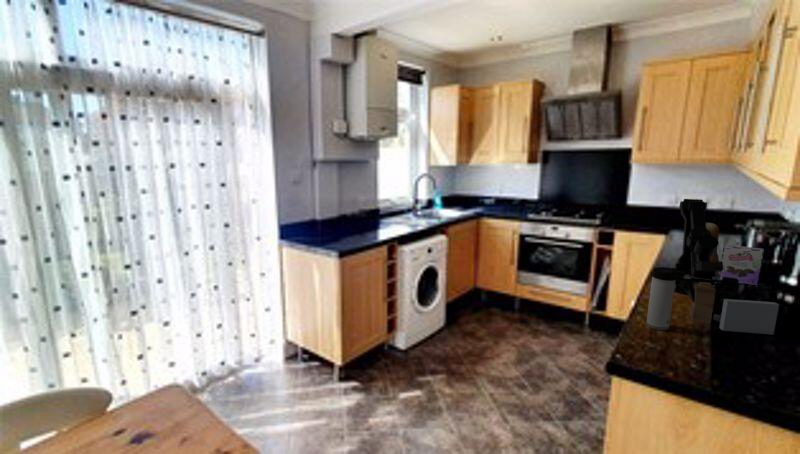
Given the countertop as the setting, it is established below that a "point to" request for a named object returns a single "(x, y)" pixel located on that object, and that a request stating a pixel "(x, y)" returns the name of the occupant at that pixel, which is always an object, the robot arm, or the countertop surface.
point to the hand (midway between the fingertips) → (703, 302)
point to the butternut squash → (715, 233)
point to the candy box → (741, 263)
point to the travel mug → (661, 298)
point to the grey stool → (748, 316)
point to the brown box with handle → (702, 303)
